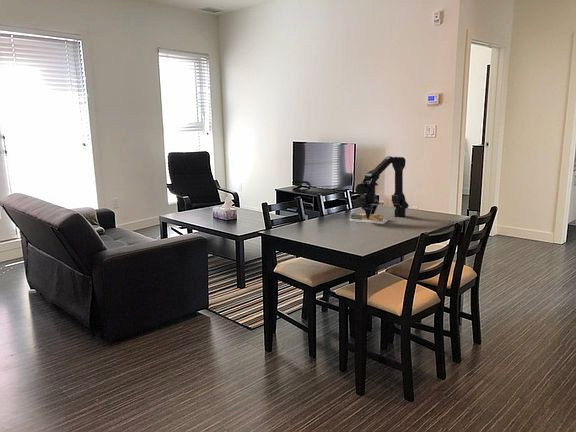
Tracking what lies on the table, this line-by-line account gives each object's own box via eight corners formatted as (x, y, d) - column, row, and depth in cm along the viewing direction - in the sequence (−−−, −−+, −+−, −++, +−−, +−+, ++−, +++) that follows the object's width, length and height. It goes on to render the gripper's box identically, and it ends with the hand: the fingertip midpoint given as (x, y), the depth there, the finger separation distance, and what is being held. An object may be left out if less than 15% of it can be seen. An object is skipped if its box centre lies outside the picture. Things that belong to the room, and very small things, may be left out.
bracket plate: (387, 221, 294) (387, 214, 294) (383, 223, 287) (383, 217, 286) (354, 218, 304) (354, 212, 303) (349, 221, 296) (349, 214, 296)
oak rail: (383, 219, 293) (383, 215, 292) (381, 221, 289) (381, 216, 289) (356, 217, 301) (356, 213, 301) (353, 218, 298) (353, 214, 297)
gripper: (362, 190, 303) (362, 213, 306) (353, 194, 287) (353, 219, 290) (379, 191, 298) (379, 215, 301) (371, 195, 282) (370, 220, 285)
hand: (370, 217), depth 294 cm, fingers open, 9 cm apart
